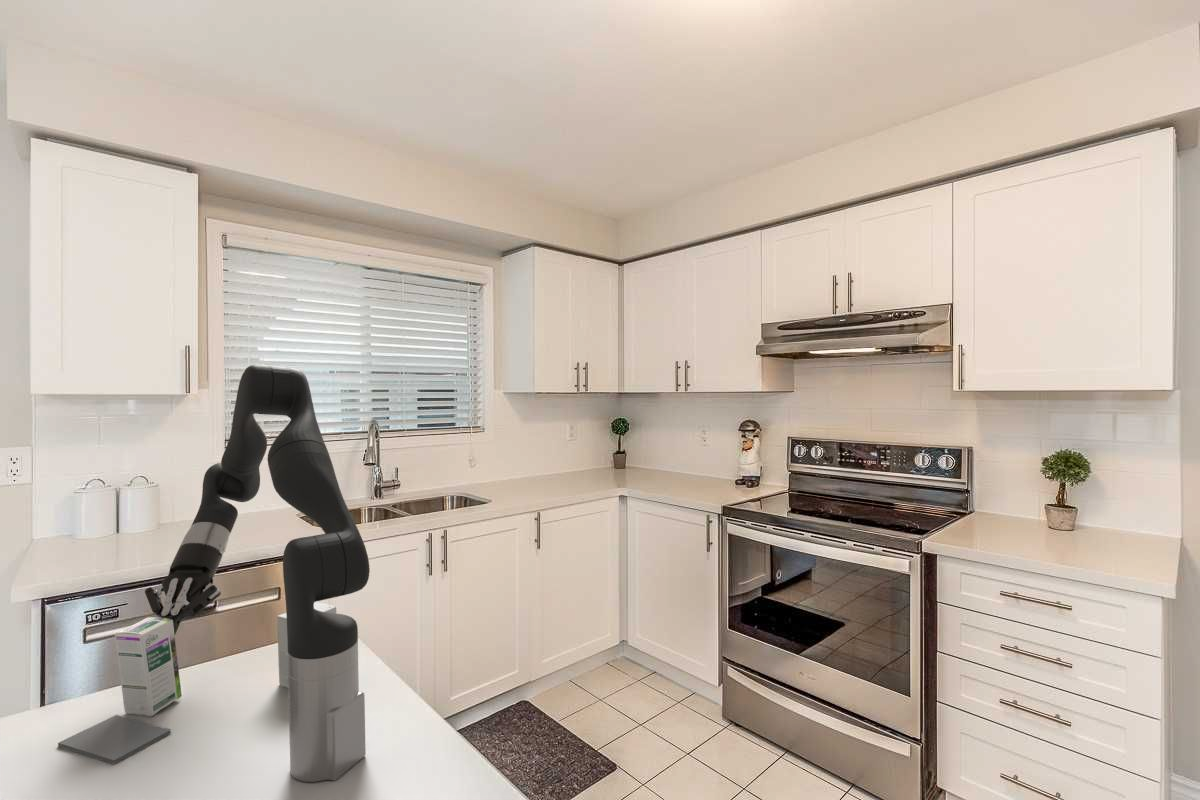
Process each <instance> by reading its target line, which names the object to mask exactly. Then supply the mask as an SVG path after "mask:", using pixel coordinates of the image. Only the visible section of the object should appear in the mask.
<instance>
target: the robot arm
mask: <svg viewBox="0 0 1200 800" xmlns="http://www.w3.org/2000/svg"><path fill="white" fill-rule="evenodd" d="M237 387H238V388H237V393H236V399H235V403H234V409H233V416H232V422H231V429H230V435H229V439H228V441H227V444H226V446H225V449H224V451H223V454H222V457H221V461H220V462H217V463H215V464H213V465H210V466H209V467H208V469H207V470H206V471H205V473H204V475H203V479H202V490H201V491H202V495H201V500H200V505H199V508H198V511H197V513H196V515H195V517H194V519H193V521H192V523H191V525H190V528H189V529H188V530H187V532H186V533H185V535H184V536H183V539H182V541H181V544H180V546H179V548H178V549H177V552H176V554H175V556H174V559H173V560H172V562H171V565H170V566H169V571H168V574H167V576H166V577H165V578H163V580H162V582H161V584H159V585H157V586H155V587H154V588H152V587H148V588H146V589H145V590H144V594H145V597H146V598H147V602H148V603H149V607H150V609H151V611H152V613H153V614H154V615H155V616H157V617H158V618H167V619H172V620H173V626H174V635H175V636H176V634H177V631H178V629H179V627H180V624H181V623H182V621H183V620H184V619H186V618H189V617H190V618H194V617H195V616H196V615H198V614H199V613H200V612H202V611H203V610H204V609H206V607H208V606H209V605H210V604H212V602H214V601H215V600H216V599H217V598H218V597H220V596H221V591H220V589H219V588H218V587H217V586H216V585H214V577H215V575H216V573H217V570H218V569H219V566H220V563H221V561H222V559H223V556H224V554H225V552H226V549H227V546H228V544H229V539H230V535H231V533H232V532H233V531H232V530H233V528H234V526H235V524H236V521H237V518H238V517H239V516H238V514H239V511H238V509H237V507H235V506H234V505H233V504H231V503H230V502H228V501H226V500H230V501H234V502H237V503H246V502H249V501H251V500H252V499H254V498H255V497H256V495H257V494H258V492H259V490H260V488H261V487H260V486H261V473H260V465H261V464H262V461H263V460H264V456H265V454H266V452H267V448H268V439H267V436H266V435H265V432H264V430H263V428H261V426H260V425H259V423H258V422H257V420H256V419H255V416H254V414H257V415H265V416H266V415H267V416H269V415H271V416H284V417H285V416H286V417H288V418H289V419H290V421H289V422H288V424H287V425H286V426H285V427H284V429H282V431H281V432H280V433H279V434H278V435H277V437H276V438H275V439H274V441H273V442H272V444H271V446H270V448H269V450H268V453H267V465H268V466H267V467H268V470H269V475H270V477H271V482H272V485H273V489H274V491H275V492H276V493H277V494H278V496H279V497H280V498H281V499H282V500H283V501H285V503H287V504H288V505H290V506H291V507H292V508H294V510H295V509H296V510H297V511H298V512H300V513H302V514H303V515H305V517H308V518H309V519H311V520H312V521H313V522H314V523H316V524H317V525H318V526H319V527H320V528H321V530H322V531H323V532H324V533H321V534H317V535H311V536H310V535H308V536H303V537H297V538H294V539H291V540H290V541H288V542H287V544H286V546H285V548H284V551H283V556H282V576H283V577H282V578H283V585H284V586H283V588H284V595H285V599H284V600H285V610H286V611H285V613H286V616H287V639H288V686H289V688H288V727H289V728H288V729H289V730H288V731H289V734H288V735H289V758H290V759H289V767H290V768H289V769H290V774H291V776H292V777H293V778H294V779H296V780H297V781H300V782H305V783H306V782H307V783H308V782H309V783H314V782H320V781H327V780H328V781H336V780H337V779H339V778H340V777H341V776H342V775H344V774H345V773H346V772H348V771H349V769H351V768H353V766H355V765H356V764H357V763H358V762H359V761H360V760H362V759H363V758H365V756H366V755H367V754H366V753H367V752H366V751H367V750H366V749H367V748H366V709H365V708H366V707H365V706H366V705H365V704H366V703H365V702H366V700H365V692H363V691H360V690H359V689H360V688H359V687H360V686H359V684H360V681H359V680H360V679H359V636H358V635H359V632H358V631H359V630H358V623H357V621H356V620H355V619H354V618H353V617H352V616H349V615H346V614H341V613H337V612H336V613H326V612H321V611H318V610H316V609H314V602H320V601H325V600H329V599H333V598H334V599H335V598H338V597H343V596H347V595H351V594H354V593H356V592H359V591H361V590H362V589H364V588H365V587H366V585H367V583H368V581H369V578H370V572H371V571H370V561H369V556H368V552H367V548H366V545H365V543H364V540H363V538H362V536H361V534H360V531H359V529H358V526H357V524H356V522H355V519H354V518H353V517H352V514H351V512H350V510H349V508H348V505H347V504H346V501H345V498H344V497H343V496H344V495H343V494H342V491H341V488H340V485H339V481H338V479H337V475H336V472H335V468H334V465H333V462H332V459H331V456H330V453H329V450H328V448H327V445H326V443H325V441H324V438H323V435H322V433H321V430H320V426H319V424H318V421H317V418H316V417H317V416H316V413H315V408H314V404H313V397H312V393H311V389H310V385H309V381H308V378H307V376H306V375H305V373H304V372H303V371H302V370H300V369H298V368H295V367H294V368H293V367H289V366H288V367H287V366H278V365H268V364H252V365H249V366H247V367H245V369H244V371H243V372H242V375H241V377H240V380H239V383H238V386H237ZM224 499H225V500H224ZM164 594H165V597H163V596H164ZM163 598H165V599H164V605H163V602H162V600H161V599H163Z"/></svg>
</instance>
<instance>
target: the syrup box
mask: <svg viewBox="0 0 1200 800" xmlns="http://www.w3.org/2000/svg"><path fill="white" fill-rule="evenodd" d="M114 641H115V646H116V647H115V648H116V657H117V662H118V663H117V664H118V670H119V677H120V678H119V679H120V684H121V692H122V694H121V695H122V702H123V708H124V709H123V710H124V713H126V714H129V715H134V714H137V715H136V716H142V715H147V716H146V717H154V716H155V715H156V714H157V713H158V712H160V711H161V710H163V709H165V708H166V707H168V706H169V705H171V704H172V703H173V702H175V701H176V700H179V699H180V698H181V697H183V696H182V688H181V687H182V686H181V679H180V671H179V662H178V653H177V645H176V634H175V635H174V626H173V620H172V619H167V618H159V617H158V616H157V617H156V616H155V617H153V616H152V617H148V616H147V617H145V618H143V620H140V621H139V622H136V623H134V624H132V625H130V626H127V627H125V628H124V629H122V630H119V631H117V632H116V633H114Z"/></svg>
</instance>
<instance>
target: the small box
mask: <svg viewBox="0 0 1200 800" xmlns="http://www.w3.org/2000/svg"><path fill="white" fill-rule="evenodd" d="M314 609H316V610H318V611H321V612H326V613H336V614H337V607H336V606H334V605H330V604H327V603H323V602H320V601H316V602H314ZM276 623H277V627H276V629H277V651H278V655H277V657H278V676H279V677H278V682H279V686H281V687H284V686H285V687H284V688H288V689H289V686H288V639H287V616H286V612H284V613H282V614H279V615H278V614H277V616H276Z"/></svg>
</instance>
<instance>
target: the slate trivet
mask: <svg viewBox="0 0 1200 800" xmlns="http://www.w3.org/2000/svg"><path fill="white" fill-rule="evenodd" d="M171 731H172V730H171V728H165V727H162V726H158V725H155V724H152V723H151V724H150V723H147V722H144V721H140V720H136V719H133V718H129V717H127V716H123V715H119V714H115V715H113V716H112V717H109V718H107V719H105V720H102V721H101V722H99V723H97V724H95V725H92V726H90V727H89V728H86V729H84V730H82V731H79V732H78V733H76V734H74V735H71V736H69V737H67V738H65V739H63V740H61V741H58V743H57V745H58V746H57V747H59V748H61V749H64V750H68V751H71V752H74V753H77V754H80V755H83V756H87V757H90V758H92V759H97V760H100V761H102V762H105V763H108V764H112V765H116V764H118V763H120V762H121V761H123V760H126V758H129V757H130V756H133V755H134V754H135V753H137V752H139V751H141V750H143V749H145V748H147V747H148V745H149V746H151V745H152V744H155V743H156V742H158V741H160V740H161V739H163V738H165V737H167V736H168V735H171V734H172V732H171ZM170 733H171V734H170ZM150 744H151V745H150ZM146 746H147V747H146Z"/></svg>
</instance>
